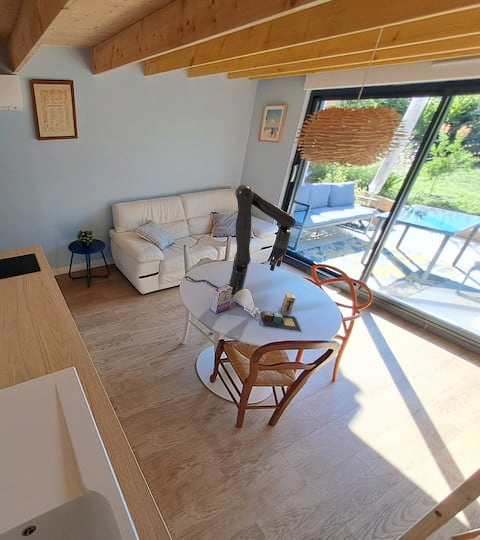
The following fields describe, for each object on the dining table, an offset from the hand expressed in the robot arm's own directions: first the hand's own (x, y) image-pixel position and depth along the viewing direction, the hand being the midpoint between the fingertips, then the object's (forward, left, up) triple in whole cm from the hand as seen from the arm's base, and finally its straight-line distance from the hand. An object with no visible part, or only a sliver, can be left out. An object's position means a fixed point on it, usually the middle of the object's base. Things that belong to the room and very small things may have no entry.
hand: (274, 268), depth 186 cm
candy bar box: (-32, -22, -23) cm, 45 cm away
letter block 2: (+1, -26, -22) cm, 34 cm away
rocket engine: (-16, -18, -23) cm, 33 cm away
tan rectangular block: (+9, -14, -23) cm, 28 cm away
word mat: (+3, -27, -23) cm, 35 cm away
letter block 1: (-5, -26, -22) cm, 35 cm away
